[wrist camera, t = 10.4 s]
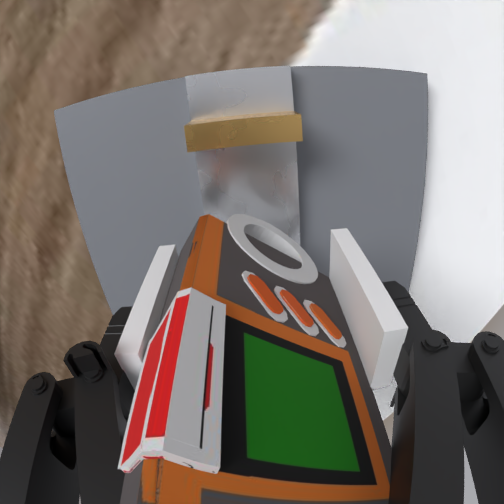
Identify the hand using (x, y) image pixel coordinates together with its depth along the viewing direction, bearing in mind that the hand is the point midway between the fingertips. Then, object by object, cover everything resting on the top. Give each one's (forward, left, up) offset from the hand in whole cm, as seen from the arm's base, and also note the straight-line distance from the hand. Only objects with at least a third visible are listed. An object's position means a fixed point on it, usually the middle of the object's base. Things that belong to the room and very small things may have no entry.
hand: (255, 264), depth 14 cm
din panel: (0, 0, -6) cm, 6 cm away
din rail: (0, 0, -4) cm, 4 cm away
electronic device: (0, 0, -3) cm, 3 cm away
